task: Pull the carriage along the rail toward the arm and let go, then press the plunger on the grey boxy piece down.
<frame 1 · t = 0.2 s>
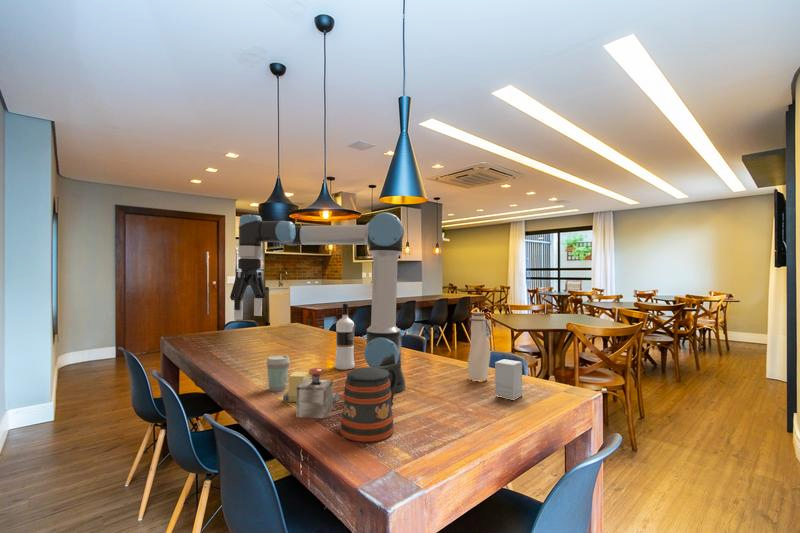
hand: (248, 317, 138), 27 cm above the table, fingers open, 13 cm apart
water bottle: (479, 380, 160), on the table
supplement box: (508, 397, 138), on the table
grey boxy piece: (315, 412, 120), on the table
beer stein: (372, 429, 108), on the table
coffee cup: (277, 390, 144), on the table
vodka: (344, 368, 179), on the table
plunger: (315, 378, 121), point 11 cm above the table, slide at 3.0 cm
carriage: (298, 386, 132), point 5 cm above the table, slide at 4.5 cm
rail: (311, 400, 132), on the table
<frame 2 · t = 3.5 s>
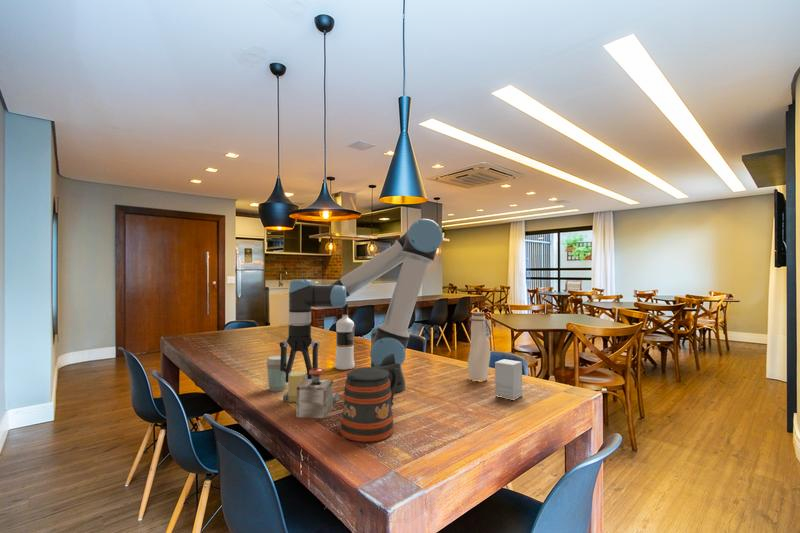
hand: (298, 391, 132), 3 cm above the table, fingers closed on carriage, 5 cm apart
carriage: (298, 386, 132), point 5 cm above the table, slide at 4.5 cm, touching gripper
everything else where it was.
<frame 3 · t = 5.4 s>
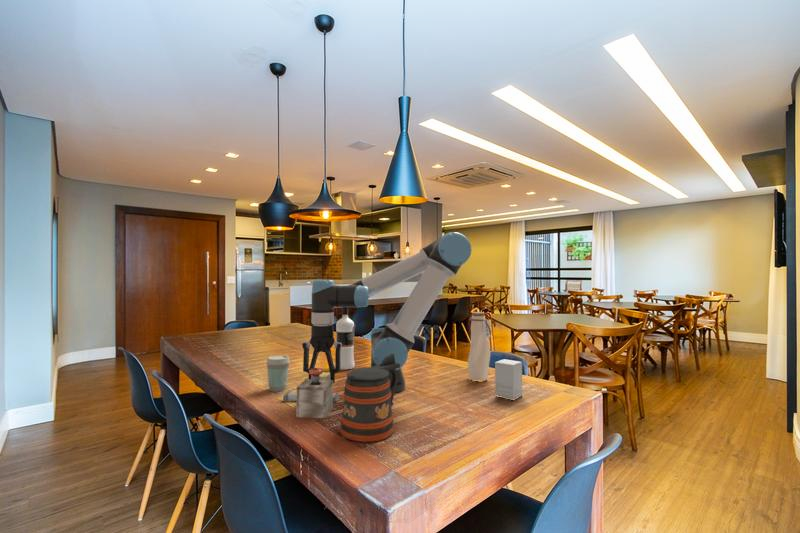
hand: (321, 392, 132), 3 cm above the table, fingers closed on carriage, 5 cm apart
carriage: (321, 387, 132), point 5 cm above the table, slide at -3.5 cm, touching gripper
everything else where it was.
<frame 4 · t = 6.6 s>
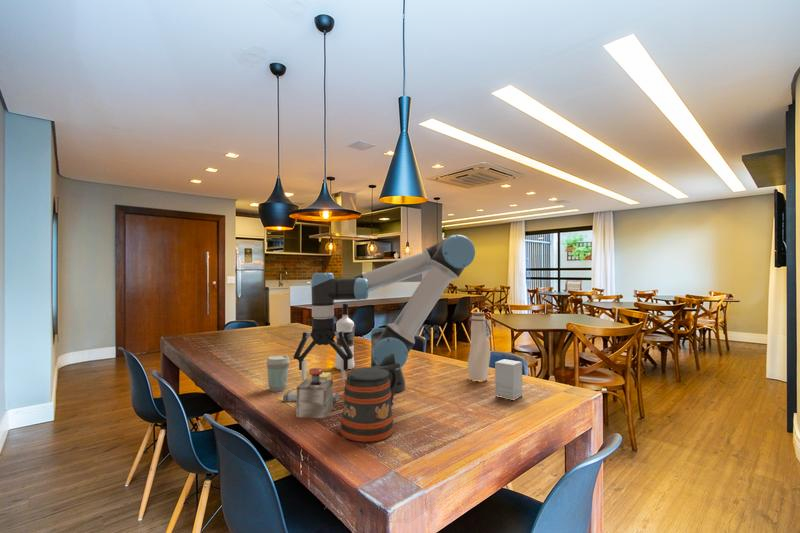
hand: (323, 379, 132), 7 cm above the table, fingers open, 13 cm apart
carriage: (321, 387, 132), point 5 cm above the table, slide at -3.5 cm
everything else where it was.
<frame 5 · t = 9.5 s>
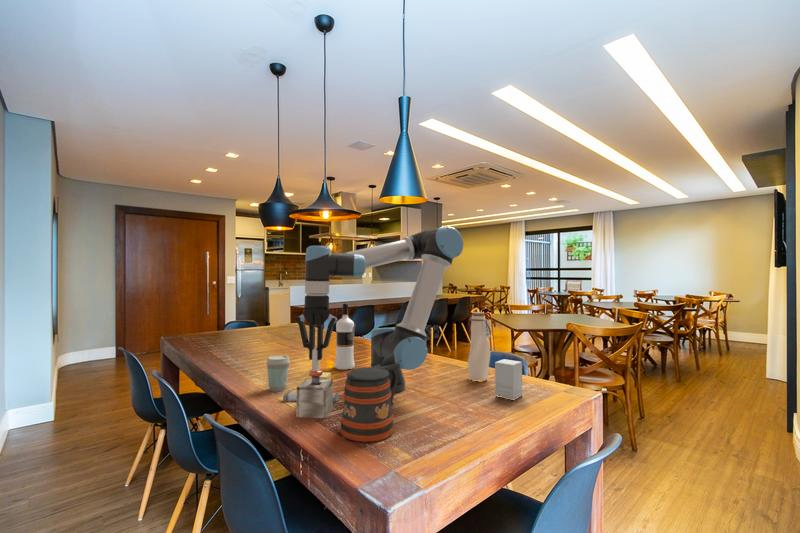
hand: (315, 370, 121), 13 cm above the table, fingers closed
plunger: (315, 379, 121), point 10 cm above the table, slide at 2.6 cm, touching gripper
everything else where it was.
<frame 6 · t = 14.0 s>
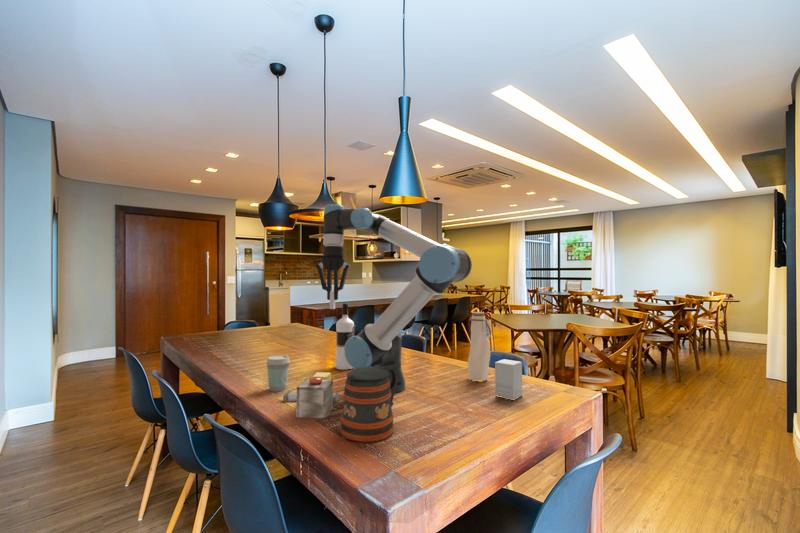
hand: (332, 308, 145), 30 cm above the table, fingers closed
plunger: (315, 386, 121), point 8 cm above the table, slide at 0.3 cm
everything else where it was.
at the end: carriage slide at -3.5 cm; plunger slide at 0.3 cm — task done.
